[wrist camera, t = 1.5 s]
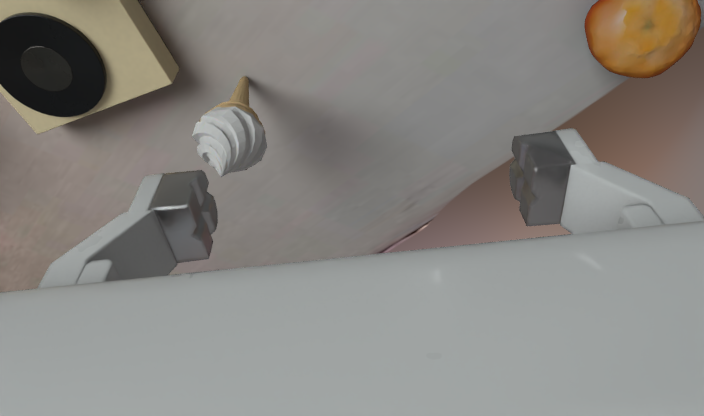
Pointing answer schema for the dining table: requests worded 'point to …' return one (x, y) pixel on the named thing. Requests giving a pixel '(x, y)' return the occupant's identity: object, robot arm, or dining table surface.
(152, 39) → the hob
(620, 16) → the fruit
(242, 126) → the ice cream cone
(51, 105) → the burner
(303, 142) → the dining table surface
